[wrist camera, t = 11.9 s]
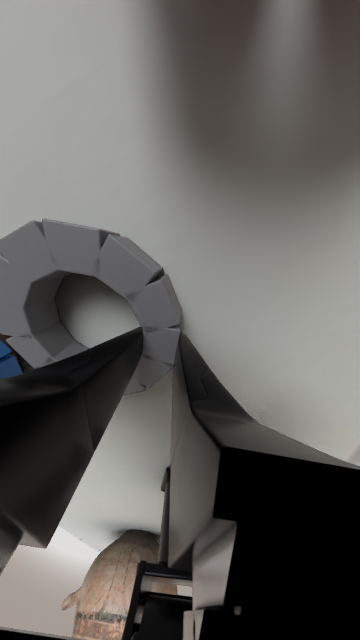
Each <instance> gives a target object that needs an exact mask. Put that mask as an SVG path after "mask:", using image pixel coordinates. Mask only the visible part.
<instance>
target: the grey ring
mask: <svg viewBox="0 0 360 640" xmlns="http://www.w3.org/2000/svg"><path fill="white" fill-rule="evenodd" d="M162 269H163V267H162V266H160V265H159V264H158V263H157V262H156V261H154V260H153V259H152V258H151V257H150V256H149V255H147V254H146V253H145V252H144V251H143V250H142V249H140V248H139V247H138V246H137V245H136V244H134V243H133V242H132V241H131V240H130V239H129V238H125V237H121V236H120V234H118V233H114V232H110V231H106V230H102V229H97V228H92V227H86V226H81V225H76V224H70V223H65V222H59V221H54V220H48V219H42V222H38V221H30V222H29V223H27V224H25V225H24V226H22V227H20V228H19V229H17V230H15V231H14V232H12V233H10V234H9V235H7V236H5V237H4V238H2V239H0V333H1V334H2V335H8V336H12V337H10V338H8V339H6V342H7V343H8V344H10V345H11V346H12V347H13V348H14V349H15V350H16V351H17V352H18V353H19V354H20V355H21V356H22V357H23V358H24V359H25V360H26V361H27V362H28V363H29V364H30V365H31V366H32V367H33V368H38V367H41V366H42V367H43V366H46V365H48V364H51V363H54V362H57V361H60V360H62V359H65V358H68V357H70V356H73V355H76V354H78V353H80V352H83V351H85V350H88V348H87V347H85V346H83V345H82V344H80V343H78V342H77V341H75V340H74V339H73V337H72V336H71V335H70V334H69V332H68V331H67V330H66V328H65V327H64V326H63V325H62V323H61V322H60V320H59V316H58V311H57V307H56V303H55V295H56V293H57V290H58V288H59V286H60V283H61V281H62V279H63V277H64V276H67V275H69V274H71V273H76V274H81V275H87V276H92V277H96V278H98V279H99V280H100V281H102V282H103V283H105V284H106V285H107V286H109V287H110V288H111V289H113V290H114V291H115V292H117V293H118V294H120V295H121V296H122V297H124V298H125V299H126V300H128V302H129V304H130V306H131V308H132V310H133V312H134V313H135V315H136V317H137V319H138V321H139V323H140V325H141V326H142V328H143V344H142V355H141V358H140V361H139V363H138V365H137V368H136V370H135V372H134V374H133V376H132V378H131V380H130V382H129V384H128V386H127V388H126V390H125V392H124V394H123V395H127V394H131V393H136V392H141V391H145V390H146V387H148V388H151V387H152V386H153V385H154V384H155V383H156V382H157V381H158V380H160V379H161V378H162V377H163V376H164V375H165V374H166V373H167V372H168V371H169V370H171V367H172V364H174V360H175V355H176V350H177V344H178V340H179V337H180V331H181V323H182V316H181V311H182V309H181V307H180V304H179V302H178V299H177V297H176V294H175V292H174V289H173V287H172V284H171V281H170V279H169V276H168V274H165V275H163V276H160V277H158V278H157V276H158V275H159V273H160V272H161V271H162Z"/></svg>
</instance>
